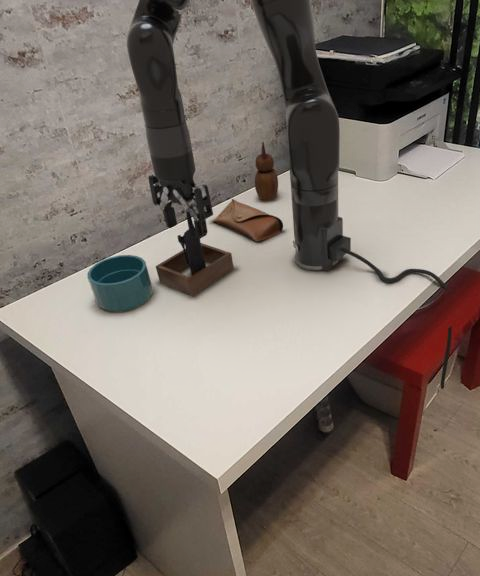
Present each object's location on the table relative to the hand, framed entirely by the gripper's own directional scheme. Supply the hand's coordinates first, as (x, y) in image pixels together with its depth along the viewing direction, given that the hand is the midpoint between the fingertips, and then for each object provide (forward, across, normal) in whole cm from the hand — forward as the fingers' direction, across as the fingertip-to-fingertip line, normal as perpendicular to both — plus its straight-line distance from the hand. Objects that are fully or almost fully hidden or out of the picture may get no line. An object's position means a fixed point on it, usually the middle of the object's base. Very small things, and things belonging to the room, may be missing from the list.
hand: (186, 231), depth 105 cm
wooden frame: (+10, 0, 0) cm, 10 cm away
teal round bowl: (+11, +7, +13) cm, 18 cm away
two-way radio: (+11, 0, 0) cm, 11 cm away
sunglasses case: (+10, +6, -23) cm, 26 cm away
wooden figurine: (+10, +12, -39) cm, 42 cm away
